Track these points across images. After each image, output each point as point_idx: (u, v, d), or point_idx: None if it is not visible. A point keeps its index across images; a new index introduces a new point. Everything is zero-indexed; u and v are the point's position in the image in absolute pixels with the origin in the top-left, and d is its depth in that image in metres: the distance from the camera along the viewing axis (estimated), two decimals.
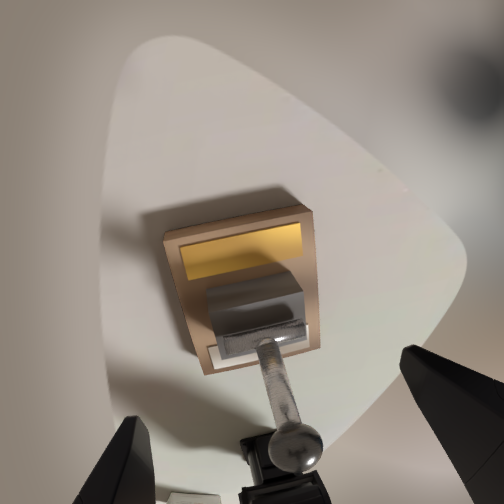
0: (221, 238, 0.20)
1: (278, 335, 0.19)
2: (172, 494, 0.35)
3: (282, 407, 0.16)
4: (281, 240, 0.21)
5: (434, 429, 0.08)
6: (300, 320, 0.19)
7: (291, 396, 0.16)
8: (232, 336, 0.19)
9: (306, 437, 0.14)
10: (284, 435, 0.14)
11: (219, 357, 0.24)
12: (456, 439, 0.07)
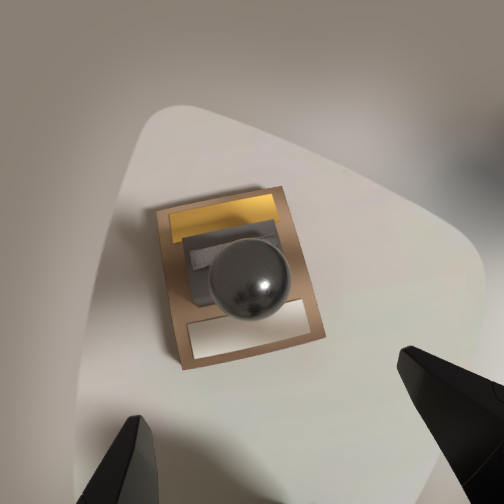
0: (204, 206, 0.24)
1: None
2: None
3: None
4: (257, 207, 0.24)
5: (431, 430, 0.08)
6: None
7: None
8: None
9: None
10: None
11: (199, 339, 0.20)
12: (453, 441, 0.07)
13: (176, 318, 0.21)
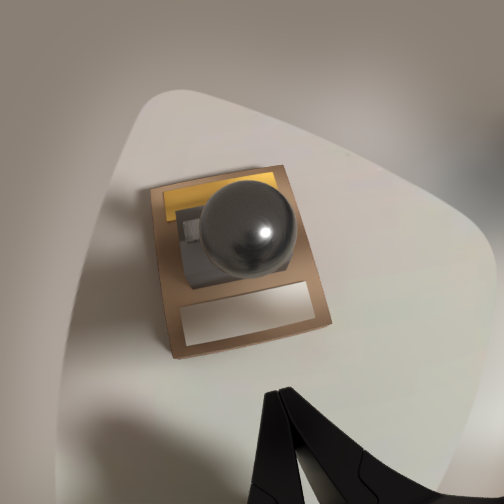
0: (200, 184, 0.22)
1: None
2: None
3: None
4: None
5: (309, 482, 0.07)
6: None
7: None
8: None
9: None
10: None
11: (192, 324, 0.19)
12: (324, 501, 0.06)
13: (167, 301, 0.19)
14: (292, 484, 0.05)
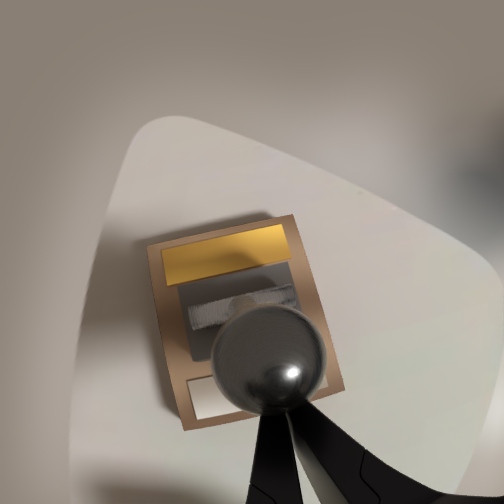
0: (202, 241, 0.20)
1: (257, 294, 0.15)
2: None
3: None
4: (264, 241, 0.20)
5: (310, 481, 0.07)
6: (286, 284, 0.16)
7: None
8: None
9: (275, 303, 0.08)
10: None
11: (202, 398, 0.17)
12: (325, 501, 0.06)
13: (174, 374, 0.17)
14: (290, 484, 0.05)
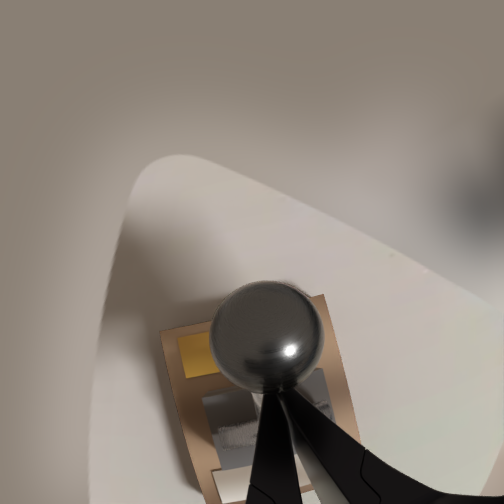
0: None
1: None
2: None
3: None
4: None
5: (311, 481, 0.07)
6: None
7: None
8: None
9: None
10: None
11: (227, 486, 0.15)
12: (325, 501, 0.06)
13: (198, 464, 0.15)
14: (290, 484, 0.05)
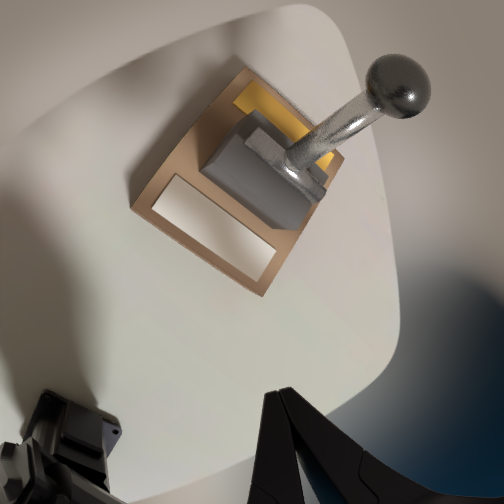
0: (282, 105, 0.20)
1: None
2: None
3: None
4: None
5: (309, 482, 0.07)
6: None
7: None
8: None
9: None
10: None
11: (172, 197, 0.18)
12: (323, 501, 0.06)
13: (171, 160, 0.17)
14: (292, 484, 0.05)
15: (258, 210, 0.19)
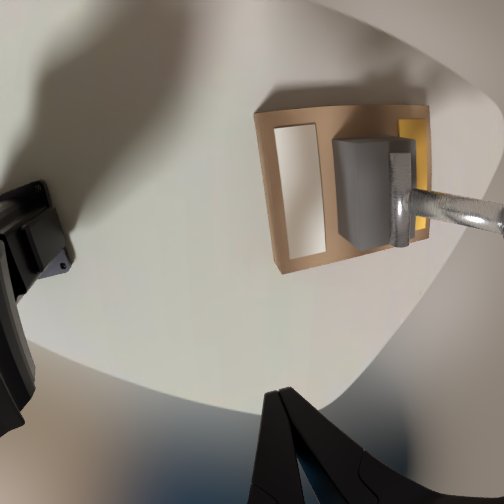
0: (426, 157, 0.19)
1: None
2: None
3: None
4: None
5: (309, 482, 0.07)
6: None
7: None
8: None
9: None
10: None
11: (297, 137, 0.17)
12: (324, 501, 0.06)
13: (321, 111, 0.17)
14: (292, 484, 0.05)
15: (346, 209, 0.18)
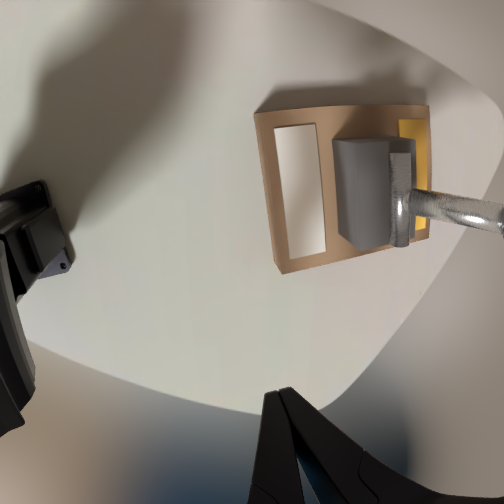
0: (426, 157, 0.19)
1: None
2: None
3: None
4: None
5: (309, 482, 0.07)
6: None
7: None
8: None
9: None
10: None
11: (297, 137, 0.17)
12: (324, 501, 0.06)
13: (321, 111, 0.17)
14: (292, 484, 0.05)
15: (346, 209, 0.18)
